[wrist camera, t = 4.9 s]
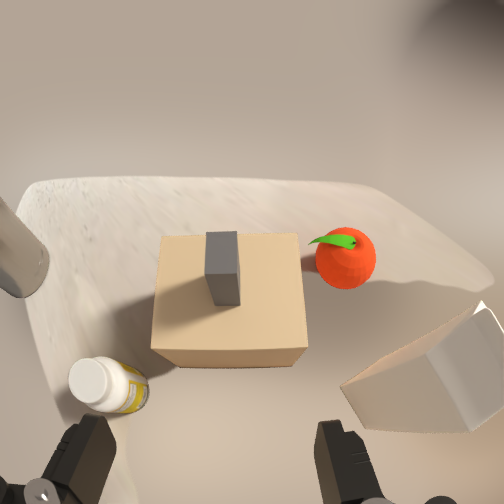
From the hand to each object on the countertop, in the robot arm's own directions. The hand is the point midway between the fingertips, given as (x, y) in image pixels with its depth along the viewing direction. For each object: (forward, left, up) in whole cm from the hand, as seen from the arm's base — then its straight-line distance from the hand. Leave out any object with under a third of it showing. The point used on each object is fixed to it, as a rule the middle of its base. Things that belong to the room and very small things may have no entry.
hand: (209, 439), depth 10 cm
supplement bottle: (-12, +3, -22) cm, 26 cm away
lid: (0, +11, -12) cm, 16 cm away
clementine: (+12, +17, -22) cm, 30 cm away
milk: (+15, +2, -22) cm, 27 cm away
